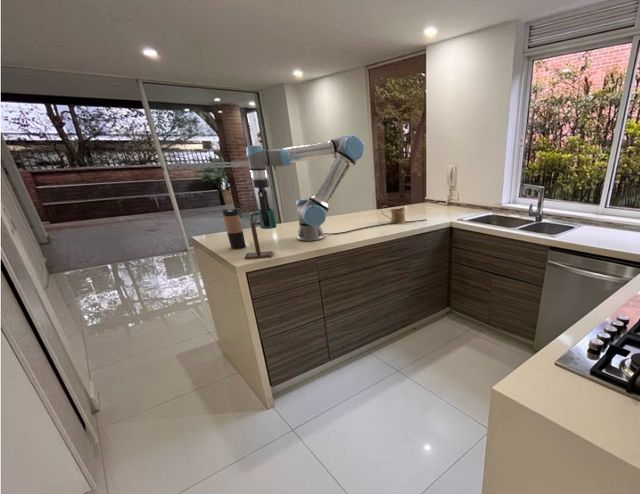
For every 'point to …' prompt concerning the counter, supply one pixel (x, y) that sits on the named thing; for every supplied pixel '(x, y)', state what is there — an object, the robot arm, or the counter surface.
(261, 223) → the teal mug
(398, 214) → the mug
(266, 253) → the mug stand
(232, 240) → the travel mug
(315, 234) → the robot arm
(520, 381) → the counter surface
